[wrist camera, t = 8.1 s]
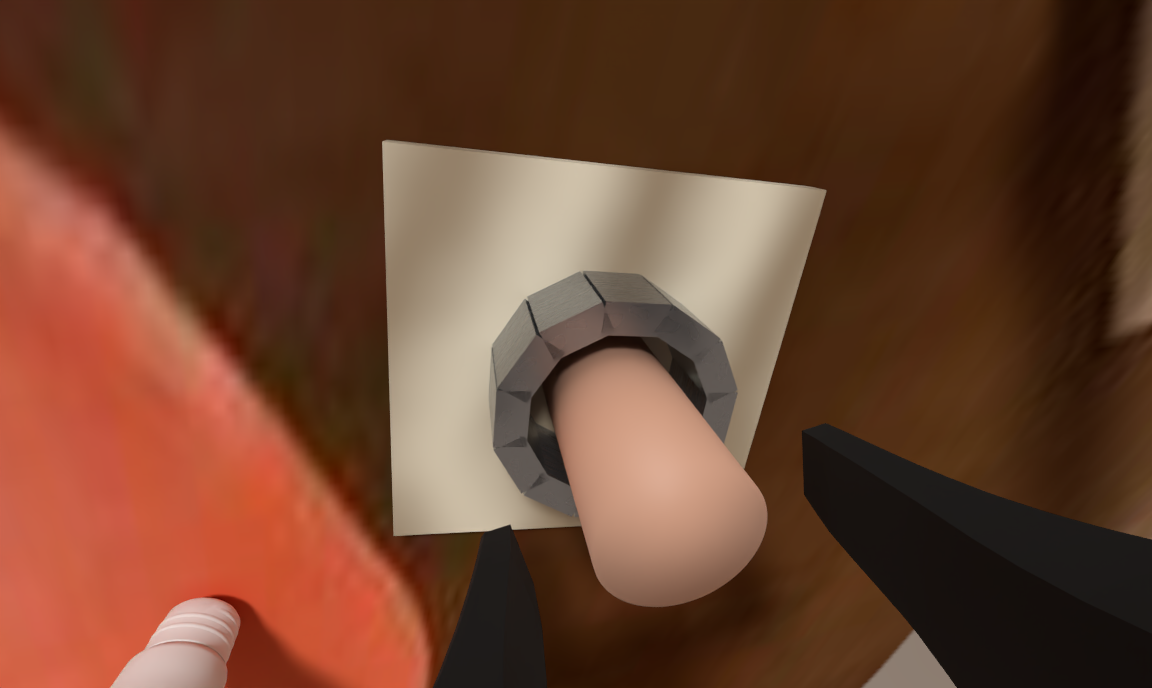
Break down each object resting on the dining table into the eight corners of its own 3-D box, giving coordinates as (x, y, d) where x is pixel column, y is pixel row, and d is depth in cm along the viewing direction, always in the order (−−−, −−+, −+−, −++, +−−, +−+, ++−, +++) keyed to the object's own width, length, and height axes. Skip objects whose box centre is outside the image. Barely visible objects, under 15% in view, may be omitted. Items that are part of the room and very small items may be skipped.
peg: (640, 306, 18) (761, 440, 10) (657, 402, 19) (771, 573, 12) (528, 339, 17) (573, 500, 10) (556, 433, 19) (611, 628, 12)
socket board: (808, 186, 18) (893, 205, 15) (719, 502, 24) (764, 573, 20) (386, 139, 15) (363, 149, 11) (397, 517, 20) (382, 603, 17)
